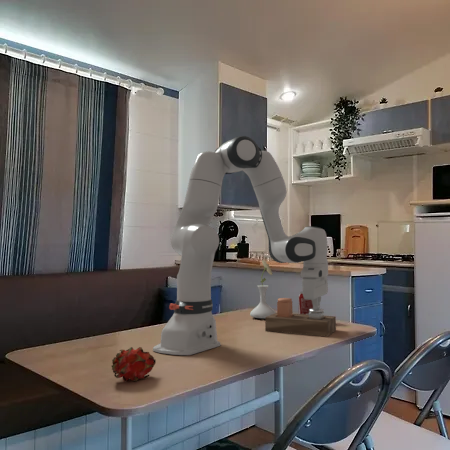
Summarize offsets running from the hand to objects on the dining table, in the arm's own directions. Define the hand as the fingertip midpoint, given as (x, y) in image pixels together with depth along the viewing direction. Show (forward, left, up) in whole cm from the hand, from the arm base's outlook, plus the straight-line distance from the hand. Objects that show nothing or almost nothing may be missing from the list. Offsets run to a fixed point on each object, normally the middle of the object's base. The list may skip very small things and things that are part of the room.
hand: (316, 309), depth 161 cm
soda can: (+18, +9, -8) cm, 22 cm away
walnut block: (0, +6, -8) cm, 10 cm away
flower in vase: (+20, +29, -8) cm, 36 cm away
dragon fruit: (-72, +25, -8) cm, 77 cm away
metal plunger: (0, 0, -7) cm, 7 cm away
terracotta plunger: (0, +12, -4) cm, 13 cm away
